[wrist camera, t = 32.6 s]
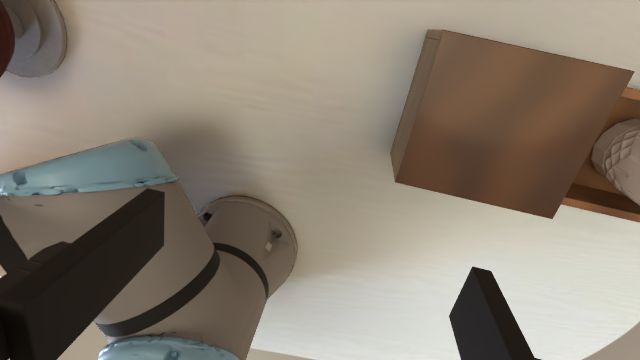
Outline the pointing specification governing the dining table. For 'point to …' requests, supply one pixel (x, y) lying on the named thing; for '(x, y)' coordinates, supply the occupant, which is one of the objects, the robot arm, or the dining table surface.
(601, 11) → the dining table surface
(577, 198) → the drawer
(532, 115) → the cabinet
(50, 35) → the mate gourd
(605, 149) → the white cup
